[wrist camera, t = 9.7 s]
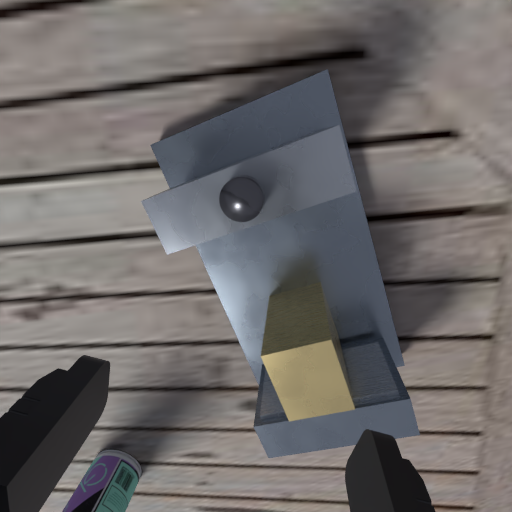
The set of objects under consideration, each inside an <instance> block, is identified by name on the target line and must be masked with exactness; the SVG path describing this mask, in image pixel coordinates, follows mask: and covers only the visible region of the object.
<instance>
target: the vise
mask: <svg viewBox="0 0 512 512" xmlns="http://www.w3.org/2000/svg"><path fill="white" fill-rule="evenodd" d="M337 125H339V126H340V130H341V133H342V137H343V141H344V145H345V149H346V152H347V156H348V160H349V164H350V168H351V171H352V175H353V179H354V183H355V187H356V191H357V192H354V193H351V194H348V195H345V196H341V197H338V198H335V199H332V200H329V201H326V202H323V203H320V204H317V205H314V206H311V207H308V208H305V209H302V210H299V211H296V212H293V213H290V214H287V215H284V216H281V217H278V218H275V219H272V220H269V221H266V222H263V223H260V224H257V225H254V226H251V227H248V228H245V229H242V230H239V231H236V232H233V233H230V234H227V235H224V236H221V237H218V238H215V239H212V240H209V241H206V242H203V243H200V244H197V245H196V247H197V249H198V252H199V254H200V256H201V258H202V260H203V263H204V265H205V267H206V269H207V271H208V274H209V276H210V278H211V280H212V283H213V285H214V287H215V289H216V291H217V294H218V296H219V298H220V300H221V302H222V305H223V307H224V309H225V311H226V314H227V316H228V318H229V320H230V322H231V325H232V327H233V329H234V331H235V333H236V336H237V338H238V340H239V342H240V345H241V347H242V349H243V351H244V353H245V356H246V358H247V360H248V362H249V364H250V367H251V369H252V371H253V373H254V376H255V378H256V380H257V382H258V384H259V391H258V398H257V406H256V413H255V421H254V429H255V431H256V433H257V435H258V437H259V439H260V441H261V443H262V445H263V447H264V449H265V451H266V453H267V456H268V458H273V457H279V456H286V455H292V454H299V453H305V452H312V451H318V450H325V449H331V448H338V447H344V446H351V445H356V444H357V442H358V441H359V439H360V437H361V435H362V433H363V432H364V431H365V430H366V429H369V430H373V431H377V432H380V433H384V434H388V435H392V436H393V437H394V439H397V438H403V437H410V436H416V435H420V434H419V430H418V426H417V422H416V418H415V415H414V411H413V407H412V403H411V399H410V397H409V395H408V392H407V390H406V388H405V386H404V383H403V381H402V379H401V377H400V374H399V372H398V370H397V368H396V367H400V366H405V365H404V361H403V357H402V354H401V350H400V346H399V342H398V338H397V334H396V330H395V327H394V323H393V319H392V315H391V311H390V307H389V303H388V300H387V296H386V292H385V288H384V284H383V280H382V276H381V273H380V269H379V265H378V261H377V257H376V253H375V250H374V246H373V242H372V238H371V234H370V230H369V226H368V223H367V219H366V215H365V211H364V207H363V203H362V199H361V196H360V192H359V188H358V184H357V180H356V176H355V172H354V169H353V165H352V161H351V157H350V153H349V149H348V145H347V142H346V138H345V134H344V130H343V126H342V122H341V118H340V115H339V111H338V107H337V103H336V99H335V95H334V91H333V88H332V84H331V80H330V76H329V72H328V69H327V70H324V71H322V72H320V73H317V74H315V75H313V76H310V77H308V78H306V79H303V80H301V81H299V82H296V83H294V84H292V85H289V86H287V87H285V88H282V89H280V90H278V91H275V92H273V93H271V94H268V95H266V96H264V97H261V98H259V99H257V100H254V101H252V102H250V103H247V104H245V105H243V106H240V107H238V108H236V109H233V110H231V111H229V112H226V113H224V114H222V115H219V116H217V117H215V118H212V119H210V120H208V121H205V122H203V123H201V124H198V125H196V126H194V127H191V128H189V129H187V130H184V131H182V132H180V133H177V134H175V135H173V136H170V137H168V138H166V139H163V140H161V141H159V142H156V143H154V144H152V145H151V147H152V150H153V152H154V154H155V156H156V159H157V161H158V163H159V165H160V167H161V170H162V172H163V174H164V176H165V178H166V181H167V183H168V185H169V187H170V188H173V187H175V186H177V185H180V184H182V183H184V182H187V181H190V180H192V179H195V178H197V177H200V176H203V175H205V174H208V173H210V172H213V171H216V170H218V169H221V168H223V167H226V166H228V165H231V164H234V163H236V162H239V161H241V160H244V159H247V158H249V157H252V156H254V155H257V154H259V153H262V152H265V151H267V150H270V149H272V148H275V147H278V146H280V145H283V144H285V143H288V142H291V141H293V140H296V139H298V138H301V137H303V136H306V135H309V134H311V133H314V132H316V131H319V130H322V129H324V128H328V127H332V126H337ZM318 282H321V285H322V288H323V291H324V294H325V297H326V300H327V303H328V306H329V309H330V312H331V315H332V318H333V321H334V324H335V327H336V330H337V333H338V336H339V340H340V344H341V349H342V353H343V358H344V362H345V367H346V371H347V375H348V380H349V384H350V389H351V393H352V397H353V402H354V406H355V410H350V411H345V412H339V413H333V414H328V415H322V416H317V417H311V418H306V419H300V420H295V421H289V420H288V418H287V416H286V413H285V411H284V409H283V406H282V404H281V402H280V400H279V397H278V395H277V393H276V390H275V388H274V386H273V384H272V381H271V379H270V377H269V374H268V372H267V370H266V367H265V365H264V363H263V361H262V358H261V350H262V343H263V336H264V330H265V323H266V316H267V309H268V302H269V296H271V295H275V294H279V293H282V292H286V291H289V290H293V289H297V288H300V287H304V286H307V285H311V284H315V283H318Z"/></svg>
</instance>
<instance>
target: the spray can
mask: <svg viewBox="0 0 512 512" xmlns="http://www.w3.org/2000/svg"><path fill="white" fill-rule="evenodd" d="M141 473H142V470H141V466H140V464H139V463H138V461H137V460H136V459H135V458H133V457H132V456H131V455H129V454H127V453H125V452H122V451H119V450H104V451H102V452H100V453H99V454H98V455H97V456H96V458H95V459H94V461H93V462H92V464H91V466H90V467H89V469H88V471H87V472H86V474H85V475H84V477H83V479H82V480H81V482H80V484H79V485H78V487H77V489H76V490H75V492H74V493H73V495H72V497H71V498H70V500H69V502H68V503H67V505H66V506H65V508H64V510H63V511H62V512H125V511H126V508H127V506H128V504H129V502H130V500H131V497H132V495H133V493H134V491H135V488H136V486H137V484H138V482H139V479H140V477H141Z"/></svg>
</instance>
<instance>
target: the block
mask: <svg viewBox="0 0 512 512" xmlns="http://www.w3.org/2000/svg"><path fill="white" fill-rule="evenodd" d="M261 358H262V361H263V363H264V365H265V367H266V370H267V372H268V374H269V377H270V379H271V381H272V384H273V386H274V388H275V390H276V393H277V395H278V397H279V400H280V402H281V404H282V406H283V409H284V411H285V413H286V416H287V418H288V420H289V421H295V420H300V419H306V418H311V417H317V416H322V415H328V414H333V413H339V412H345V411H350V410H355V406H354V402H353V397H352V393H351V389H350V384H349V380H348V375H347V371H346V367H345V362H344V358H343V353H342V349H341V344H340V340H339V336H338V333H337V330H336V327H335V324H334V321H333V318H332V315H331V312H330V309H329V306H328V303H327V300H326V297H325V294H324V291H323V288H322V285H321V282H318V283H315V284H311V285H307V286H304V287H300V288H297V289H293V290H289V291H286V292H282V293H279V294H275V295H271V296H269V302H268V309H267V316H266V323H265V330H264V336H263V343H262V350H261Z"/></svg>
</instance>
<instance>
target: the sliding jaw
mask: <svg viewBox="0 0 512 512" xmlns="http://www.w3.org/2000/svg"><path fill="white" fill-rule="evenodd" d="M354 192H357V191H356V187H355V183H354V179H353V175H352V171H351V168H350V164H349V160H348V156H347V152H346V149H345V145H344V141H343V137H342V133H341V130H340V126H339V125H337V126H332V127H328V128H324V129H322V130H319V131H316V132H314V133H311V134H309V135H306V136H303V137H301V138H298V139H296V140H293V141H291V142H288V143H285V144H283V145H280V146H278V147H275V148H272V149H270V150H267V151H265V152H262V153H259V154H257V155H254V156H252V157H249V158H247V159H244V160H241V161H239V162H236V163H234V164H231V165H228V166H226V167H223V168H221V169H218V170H216V171H213V172H210V173H208V174H205V175H203V176H200V177H197V178H195V179H192V180H190V181H187V182H184V183H182V184H180V185H177V186H175V187H173V188H170V189H168V190H166V191H163V192H161V193H159V194H157V195H154V196H152V197H150V198H147V199H145V200H143V201H141V202H142V204H143V206H144V208H145V210H146V212H147V214H148V216H149V218H150V220H151V222H152V224H153V226H154V229H155V231H156V233H157V235H158V237H159V239H160V241H161V243H162V245H163V247H164V249H165V251H166V253H167V254H170V253H173V252H176V251H179V250H182V249H185V248H188V247H191V246H194V245H197V244H200V243H203V242H206V241H209V240H212V239H215V238H218V237H221V236H224V235H227V234H230V233H233V232H236V231H239V230H242V229H245V228H248V227H251V226H254V225H257V224H260V223H263V222H266V221H269V220H272V219H275V218H278V217H281V216H284V215H287V214H290V213H293V212H296V211H299V210H302V209H305V208H308V207H311V206H314V205H317V204H320V203H323V202H326V201H329V200H332V199H335V198H338V197H341V196H345V195H348V194H351V193H354Z"/></svg>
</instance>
